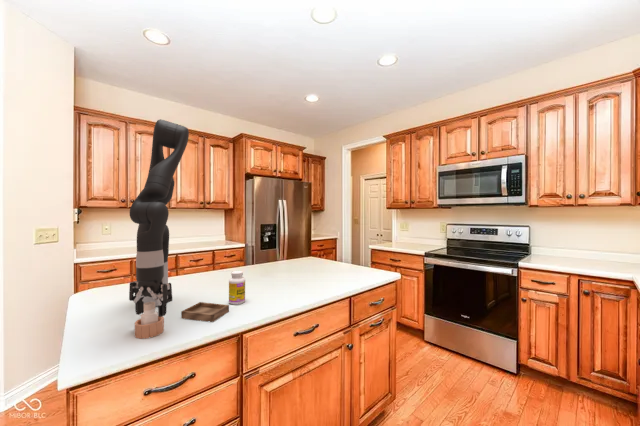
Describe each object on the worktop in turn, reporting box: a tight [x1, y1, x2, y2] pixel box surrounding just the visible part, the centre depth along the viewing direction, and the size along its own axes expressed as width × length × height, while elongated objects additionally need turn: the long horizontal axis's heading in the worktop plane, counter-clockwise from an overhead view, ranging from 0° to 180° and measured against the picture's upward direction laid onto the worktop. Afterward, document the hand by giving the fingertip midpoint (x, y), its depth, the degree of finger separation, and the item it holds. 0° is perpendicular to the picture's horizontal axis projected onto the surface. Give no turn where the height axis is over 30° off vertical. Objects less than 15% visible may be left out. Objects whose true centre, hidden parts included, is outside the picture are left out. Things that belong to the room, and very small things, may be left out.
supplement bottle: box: [228, 270, 246, 305], centre depth 114 cm, size 7×7×13 cm
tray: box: [180, 301, 230, 323], centre depth 101 cm, size 13×10×2 cm
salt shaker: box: [140, 302, 158, 325], centre depth 86 cm, size 4×4×10 cm
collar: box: [134, 316, 165, 340], centre depth 86 cm, size 8×8×4 cm
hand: (150, 314), depth 86 cm, fingers open, 8 cm apart
